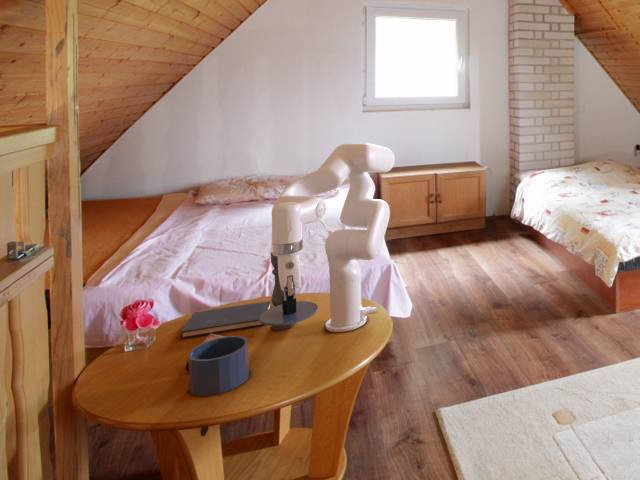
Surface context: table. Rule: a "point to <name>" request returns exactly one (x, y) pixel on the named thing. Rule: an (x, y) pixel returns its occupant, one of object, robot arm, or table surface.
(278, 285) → the candle holder
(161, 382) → the table surface
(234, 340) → the blue pot
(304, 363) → the table surface
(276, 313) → the lid
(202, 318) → the hardcover book
